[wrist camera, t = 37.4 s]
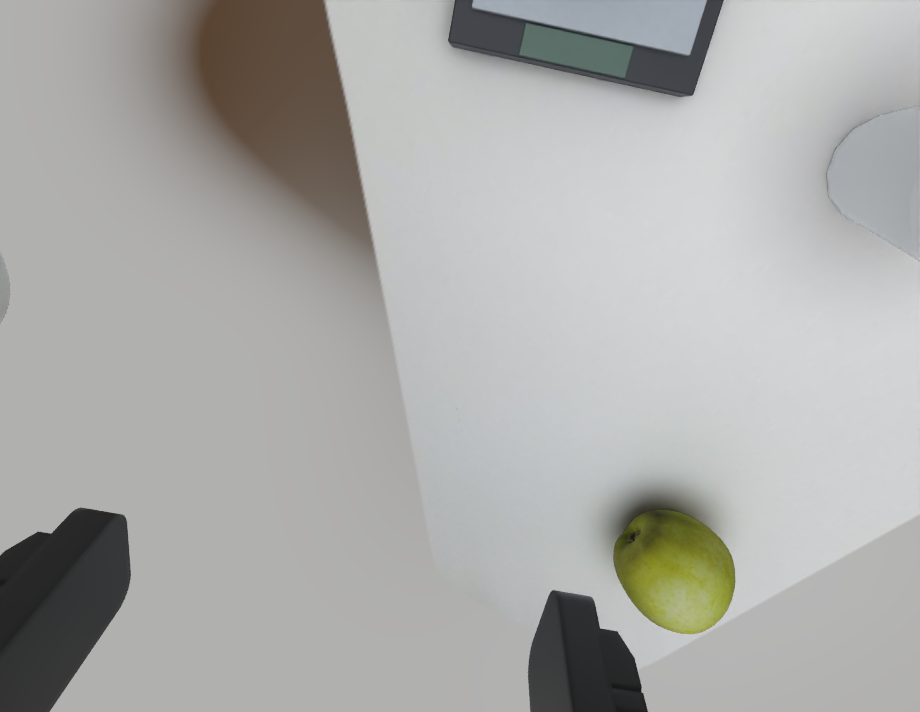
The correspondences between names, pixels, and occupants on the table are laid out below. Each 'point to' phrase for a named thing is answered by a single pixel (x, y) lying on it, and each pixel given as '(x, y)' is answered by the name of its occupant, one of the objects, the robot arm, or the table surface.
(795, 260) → the table surface
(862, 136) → the foam cup
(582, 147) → the table surface
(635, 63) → the scale
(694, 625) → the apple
